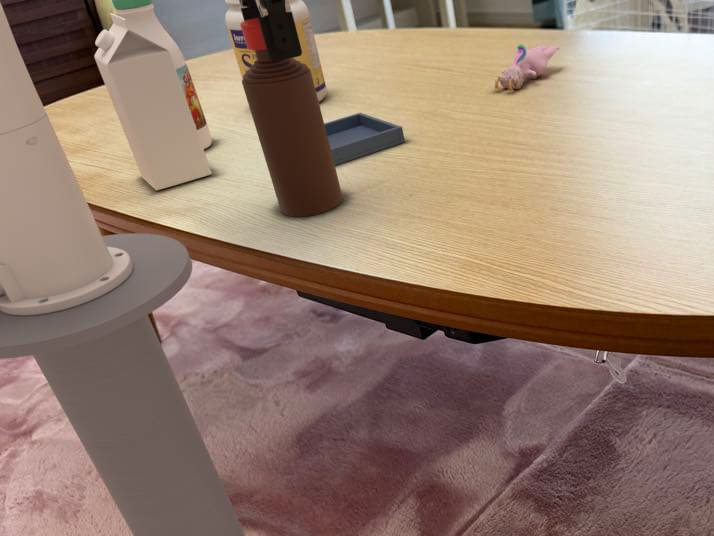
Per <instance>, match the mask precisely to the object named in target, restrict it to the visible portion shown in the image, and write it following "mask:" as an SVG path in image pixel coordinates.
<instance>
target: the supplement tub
mask: <svg viewBox="0 0 714 536" xmlns="http://www.w3.org/2000/svg"><path fill="white" fill-rule="evenodd" d="M288 1H289V4H290V7H291V11H292V14H293V18H294V22H295V26H296V30H297V34H298V38H299V42H300V45H301V49H302V55H301V56H298V57H294V59H295V60H296V61H300V62H301V63H303V64H306V65H307V67H308V68H310V70H311V74H312V78H313V82H314V86H315V89H316V93H317V97H318V101H319V103H320V102H321V101H322V100H323V99H324V98H326V95H327V84H326V80H325V76H324V71H323V68H322V62H321V59H320V55H319V50H318V47H317V46H318V45H317V43H316V38H315V33H314V29H313V25H312V22H311V21H312V20H311V17H310V11H309V9H308V6H307V5H306V3H305V2H304V1H303V0H288ZM224 2H225V4H226V5H228V6H229V8H228V9H227V11H226V13H225V16H224V19H225V25H226V28H227V32H228V35H229V39H230V43H231V45H232V48H233V52H234V56H235V59H236V62H237V65H238V69H239V73H240V76H241V80H243V75H244V74H246V73H247V70H249V69H250V67H251V66H252V65H253V64H254V62H255V61H256V60H257V57H256V53H255V50H249V49H248V48H247V45H246V42H245V39H244V35H243V32H242V28H241V25H240V23H242V22H243V21H244V18H243V15H242V12H241V8H242V7H241V5H240V2H239V0H224ZM243 8H246V7H243Z"/></svg>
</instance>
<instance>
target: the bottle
mask: <svg viewBox="0 0 714 536" xmlns="http://www.w3.org/2000/svg"><path fill="white" fill-rule="evenodd" d="M255 53H256V57H257V60H256V61H255V62H254V64H253V65H252V66H251V67H250V69H249V70H247V73H246V74H244V75H243V79H241V85H242V87H243V90H244V94H245V97H246V101H247V104H248V107H249V110H250V113H251V117H252V120H253V124H254V126H255V130H256V133H257V137H258V140H259V143H260V147H261V150H262V153H263V156H264V160H265V163H266V166H267V171H268V173H269V177H270V179H271V183H272V186H273V189H274V193H275V197H276V199H277V202H278V206H279V209H280V212H281V213H282V214H283V215H285V216H289V217H294V218H295V217H296V218H297V217H310V216H315V215H320V214H322V213H326V212H328V211H331V210H333V209H335V208H337V207H338V206H339V205H340V204H341V203H342V202H343V201H344V197H343V193H342V192H343V191H342V189H341V185H340V181H339V180H340V179H339V175H338V173H337V169H336V165H334V161H333V157H332V153H331V149H330V145H329V141H328V137H327V133H326V129H325V125H324V123H325V122H324V118H323V113H322V110H321V106H320V102H319V101H318V97H317V93H316V89H315V86H314V82H313V78H312V74H311V70H310V68H308V67H307V65H306V64H303V63H301V62H300V61H296V60H295V59H294V58H289V59H284V60H280V61H275V62H274V61H272V60H270V59H269V56H268V52H267V49H265V50H255Z"/></svg>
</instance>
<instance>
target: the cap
mask: <svg viewBox="0 0 714 536" xmlns="http://www.w3.org/2000/svg"><path fill="white" fill-rule="evenodd" d="M240 25H241V28H242V32H243V35H244V39H245V42H246V45H247V48H248V49H249V50H265V49H266V45H265V41H264V38H263V34H262V31H261V27H260V24H259V20H258V18H253V19H249V20H246V21H243V22H242V23H240Z"/></svg>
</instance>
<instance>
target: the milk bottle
mask: <svg viewBox="0 0 714 536" xmlns="http://www.w3.org/2000/svg"><path fill="white" fill-rule="evenodd" d="M111 3H112V6H113V7H114V9H115V13H116V15H118V16H119V17H122V18H124V19H126V22H127V24H128V27H129V30H131V31H133V32H135V33H137V34H139V35H141V36H142V37H144V38H146V39H148V40H150V41H152V42H154V43H156V44H158V45H160V46H161V47H163V48H165V49H167V50H169V51H170V54H171V57H172V60H173V63H174V66H175V68H176V71H177V74H178V77H179V80H180V83H181V86H182V89H183V92H184V94H185V97H186V100H187V103H188V106H189V109H190V112H191V115H192V118H193V120H194V123H195V126H196V129H197V132H198V135H199V138H200V141H201V144H202V146H203V149H204V150H205V149H208V147H211V145H212V143H213V138H212V135H211V132H210V128H209V125H208V122H207V119H206V117H205V114H204V110H203V108H202V104H201V101H200V98H199V96H198V93H197V90H196V87H195V84H194V81H193V78H192V76H191V72H190V70H189V67H188V65H187V61H186V59H185V57H184V54H183V53H182V51H181V49H180V47H179V46H178V44H177V43H176V41H175V40H174V39H173V38H172V37H171V36H170V34H169V33H168V32H167V31H166V30H165V28H164V27H163V25H162V23H161V22H160V21H159V19H158V17H157V15H156V13H155V11H154V8H155V6H154V3H153V0H111Z"/></svg>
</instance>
